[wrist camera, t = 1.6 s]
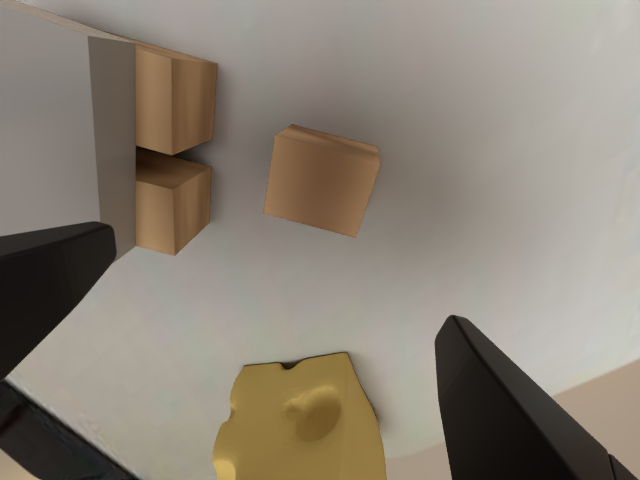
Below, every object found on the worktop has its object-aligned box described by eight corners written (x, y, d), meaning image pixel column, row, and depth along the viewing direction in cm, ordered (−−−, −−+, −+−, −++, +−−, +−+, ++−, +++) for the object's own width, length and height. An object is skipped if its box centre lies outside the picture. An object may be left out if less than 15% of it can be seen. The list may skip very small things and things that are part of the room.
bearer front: (52, 93, 18) (-37, 97, 14) (37, 12, 16) (-71, -10, 12) (214, 138, 18) (171, 155, 14) (218, 63, 16) (171, 58, 12)
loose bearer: (280, 189, 19) (263, 213, 16) (292, 124, 17) (274, 135, 14) (356, 209, 19) (356, 237, 16) (376, 146, 17) (380, 163, 14)
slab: (12, 205, 16) (-39, 224, 14) (-40, -20, 12) (-128, -41, 10) (135, 246, 17) (103, 270, 15) (135, 42, 12) (87, 35, 10)
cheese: (240, 363, 27) (184, 496, 19) (353, 346, 25) (349, 493, 16) (284, 429, 32) (255, 563, 23) (384, 421, 29) (395, 569, 20)
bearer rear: (71, 186, 21) (2, 212, 17) (59, 127, 19) (-23, 140, 15) (210, 221, 21) (174, 255, 17) (212, 166, 19) (172, 189, 15)
